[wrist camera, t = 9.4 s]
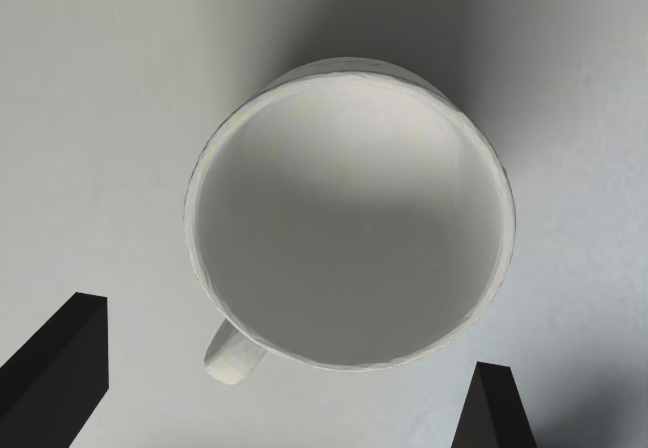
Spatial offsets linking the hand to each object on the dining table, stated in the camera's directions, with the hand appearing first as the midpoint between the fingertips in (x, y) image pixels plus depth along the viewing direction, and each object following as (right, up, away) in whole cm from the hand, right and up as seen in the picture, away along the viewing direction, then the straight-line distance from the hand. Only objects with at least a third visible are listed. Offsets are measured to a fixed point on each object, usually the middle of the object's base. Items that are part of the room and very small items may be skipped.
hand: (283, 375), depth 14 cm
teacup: (+1, +5, +12) cm, 14 cm away
